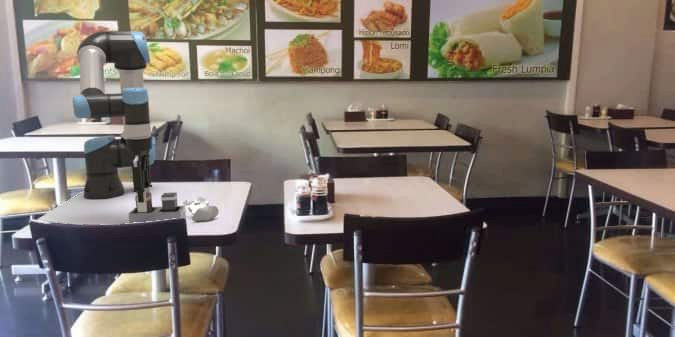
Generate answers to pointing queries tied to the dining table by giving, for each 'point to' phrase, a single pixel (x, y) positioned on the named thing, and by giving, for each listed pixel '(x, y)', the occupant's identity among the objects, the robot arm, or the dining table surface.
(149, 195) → the plug
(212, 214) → the figurine
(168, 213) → the grey holder
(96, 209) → the dining table surface
